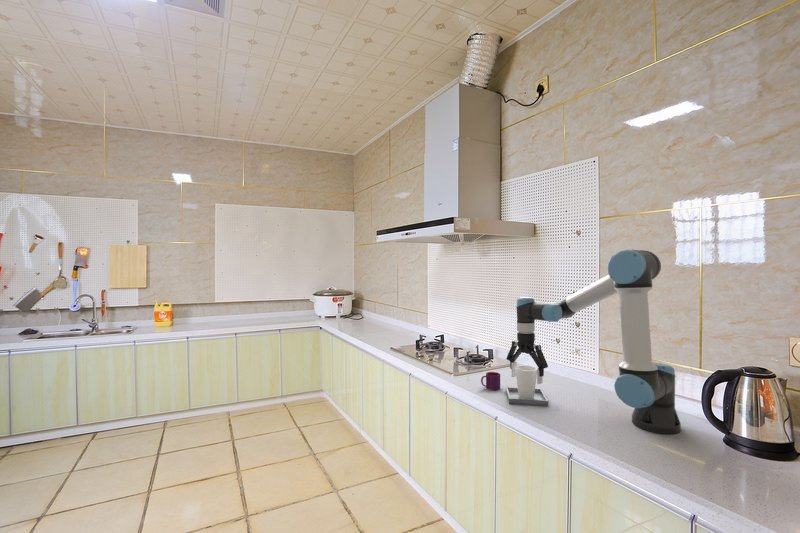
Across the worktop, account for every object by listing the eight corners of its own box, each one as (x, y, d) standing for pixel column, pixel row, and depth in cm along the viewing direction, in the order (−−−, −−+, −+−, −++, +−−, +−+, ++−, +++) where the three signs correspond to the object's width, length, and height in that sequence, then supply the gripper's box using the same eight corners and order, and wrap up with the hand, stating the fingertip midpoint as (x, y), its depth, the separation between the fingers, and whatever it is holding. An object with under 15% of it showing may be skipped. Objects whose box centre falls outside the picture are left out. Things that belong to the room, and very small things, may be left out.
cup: (502, 389, 186) (502, 375, 186) (484, 391, 183) (484, 376, 183) (495, 385, 192) (495, 371, 192) (477, 387, 189) (477, 373, 189)
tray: (548, 406, 164) (548, 400, 164) (509, 403, 167) (509, 398, 167) (541, 393, 180) (541, 388, 179) (505, 391, 182) (505, 386, 182)
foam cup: (529, 402, 166) (529, 372, 166) (511, 396, 174) (510, 367, 173) (541, 397, 172) (541, 368, 172) (523, 392, 180) (523, 364, 179)
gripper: (556, 334, 165) (556, 385, 165) (509, 327, 185) (509, 372, 185) (545, 336, 160) (546, 388, 160) (498, 329, 181) (499, 375, 181)
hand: (526, 380), depth 173 cm, fingers open, 13 cm apart
